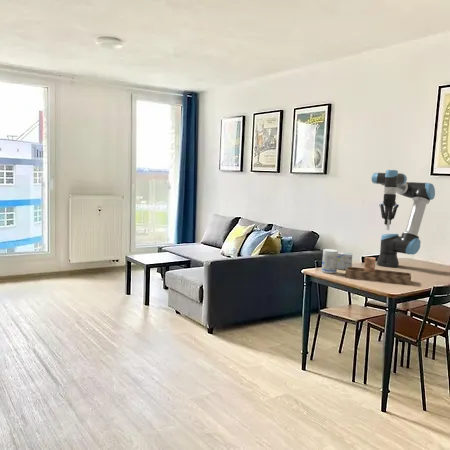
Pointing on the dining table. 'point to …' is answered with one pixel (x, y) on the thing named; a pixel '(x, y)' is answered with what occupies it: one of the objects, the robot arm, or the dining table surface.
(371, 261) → the block
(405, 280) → the box
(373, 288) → the dining table surface
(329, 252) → the supplement tub
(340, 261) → the light bulb box
